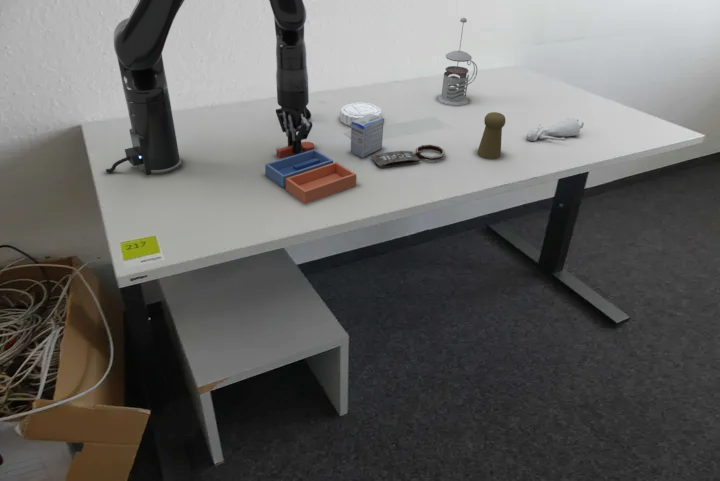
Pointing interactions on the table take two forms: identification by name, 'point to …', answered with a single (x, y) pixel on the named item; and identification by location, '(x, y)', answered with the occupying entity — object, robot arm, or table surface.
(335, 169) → the terracotta tote
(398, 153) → the keychain
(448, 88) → the french press
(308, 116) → the tape measure
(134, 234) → the table surface
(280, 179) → the blue tote
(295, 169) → the blue spoon
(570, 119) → the woman figurine
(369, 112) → the mooncake
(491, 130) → the olive game pawn
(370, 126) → the medicine box
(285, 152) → the terracotta spoon
